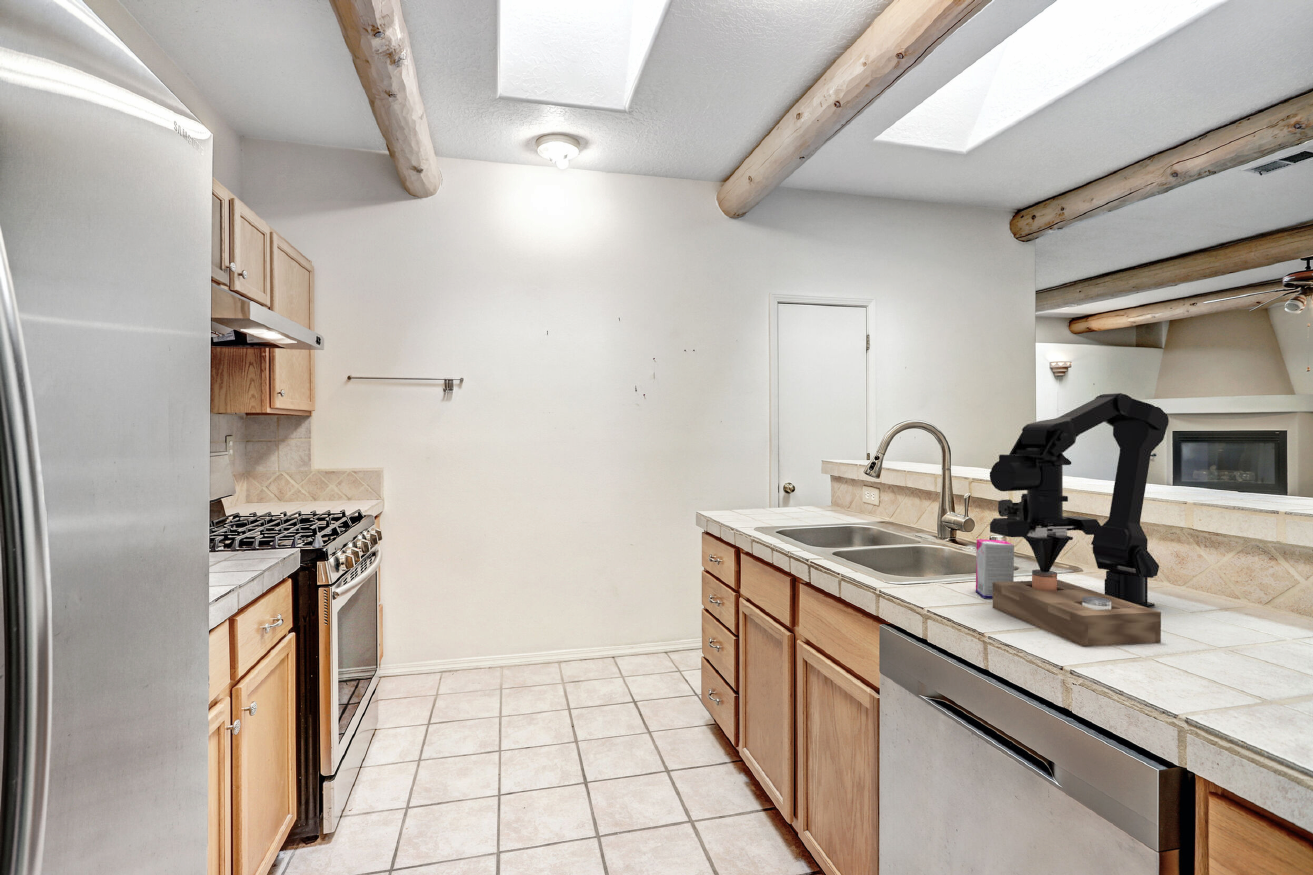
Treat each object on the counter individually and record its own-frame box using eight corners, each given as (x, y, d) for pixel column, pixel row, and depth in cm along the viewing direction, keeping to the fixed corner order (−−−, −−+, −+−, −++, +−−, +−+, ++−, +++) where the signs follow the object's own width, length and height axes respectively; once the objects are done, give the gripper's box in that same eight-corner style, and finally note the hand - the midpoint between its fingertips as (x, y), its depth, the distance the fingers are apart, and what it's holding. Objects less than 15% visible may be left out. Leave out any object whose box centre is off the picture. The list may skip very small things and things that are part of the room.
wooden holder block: (1058, 604, 123) (1058, 579, 123) (1160, 642, 101) (1160, 611, 101) (992, 607, 121) (992, 582, 121) (1082, 646, 99) (1082, 615, 99)
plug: (1097, 627, 107) (1097, 595, 107) (1117, 635, 103) (1117, 602, 103) (1076, 628, 107) (1076, 596, 107) (1095, 636, 103) (1095, 603, 103)
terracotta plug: (1046, 597, 119) (1046, 569, 119) (1062, 603, 115) (1062, 573, 115) (1027, 598, 119) (1027, 569, 118) (1042, 604, 115) (1042, 574, 115)
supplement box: (1014, 600, 126) (1014, 544, 126) (983, 598, 127) (983, 543, 127) (1004, 592, 132) (1004, 539, 132) (974, 591, 133) (974, 538, 133)
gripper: (1057, 484, 126) (1057, 561, 126) (971, 486, 123) (972, 564, 124) (1103, 490, 115) (1103, 573, 115) (1009, 492, 112) (1010, 577, 113)
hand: (1044, 571), depth 117 cm, fingers closed, pressing on terracotta plug
